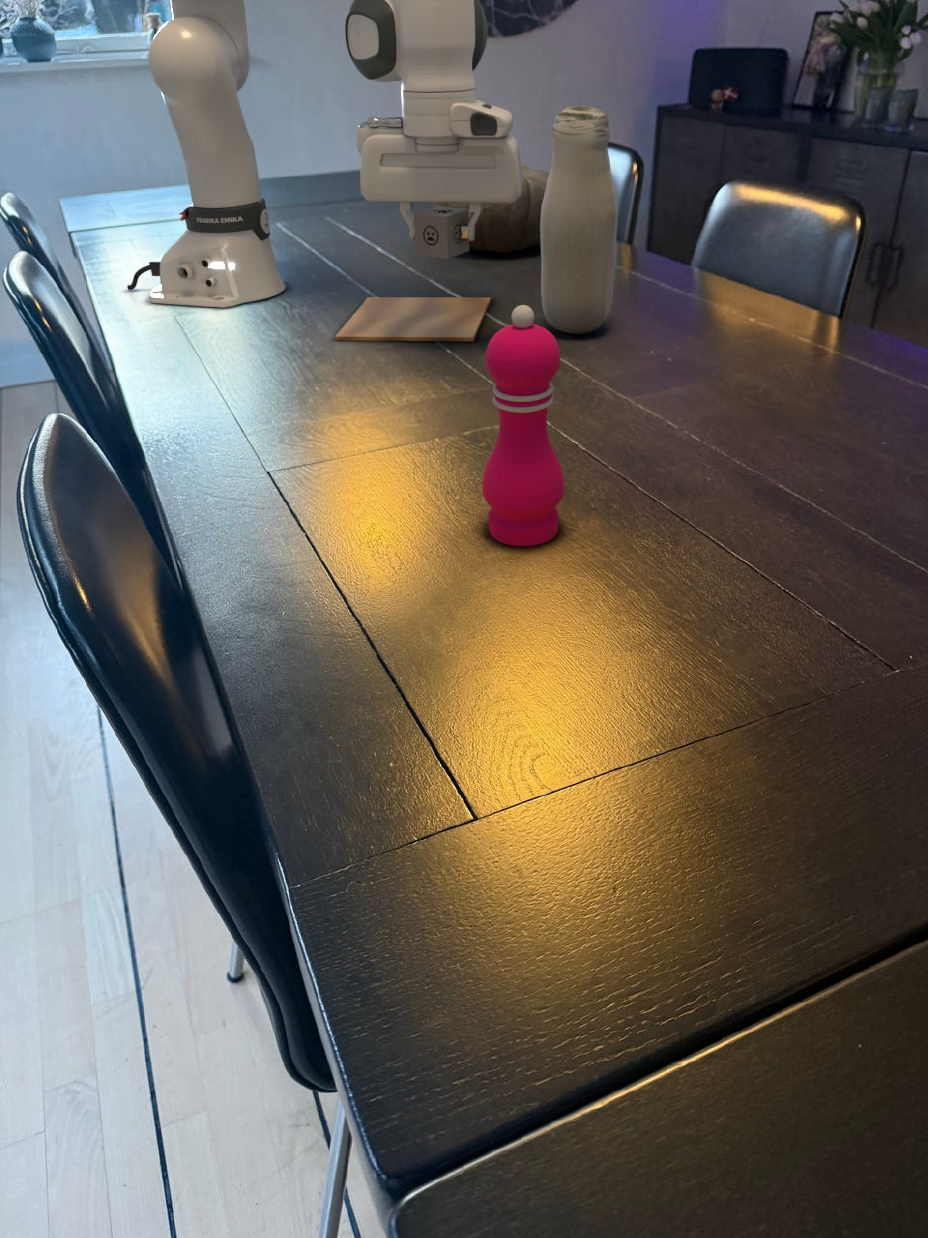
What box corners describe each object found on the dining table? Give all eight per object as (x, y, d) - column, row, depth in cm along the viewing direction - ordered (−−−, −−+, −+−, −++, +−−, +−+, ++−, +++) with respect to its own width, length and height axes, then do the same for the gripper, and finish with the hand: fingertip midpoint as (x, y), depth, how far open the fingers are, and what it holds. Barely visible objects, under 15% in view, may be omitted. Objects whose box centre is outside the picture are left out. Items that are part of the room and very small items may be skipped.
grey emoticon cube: (447, 258, 113) (446, 216, 111) (415, 254, 116) (413, 212, 113) (469, 250, 117) (468, 209, 114) (437, 246, 119) (436, 205, 116)
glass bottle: (616, 322, 130) (629, 101, 114) (602, 344, 122) (613, 110, 106) (550, 318, 133) (554, 101, 117) (532, 339, 125) (533, 110, 109)
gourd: (405, 243, 165) (414, 138, 157) (457, 238, 186) (467, 144, 177) (532, 266, 158) (549, 157, 150) (571, 258, 179) (587, 161, 170)
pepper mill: (479, 514, 84) (472, 295, 73) (556, 508, 84) (560, 289, 73) (488, 553, 78) (481, 322, 67) (569, 546, 78) (577, 315, 67)
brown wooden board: (335, 340, 129) (335, 336, 128) (368, 300, 145) (367, 297, 144) (473, 341, 126) (473, 337, 125) (490, 301, 142) (490, 297, 142)
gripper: (348, 120, 106) (358, 243, 114) (519, 120, 103) (517, 246, 111) (361, 113, 111) (370, 232, 119) (525, 113, 109) (522, 235, 117)
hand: (442, 239), depth 115 cm, fingers closed on grey emoticon cube, 5 cm apart
